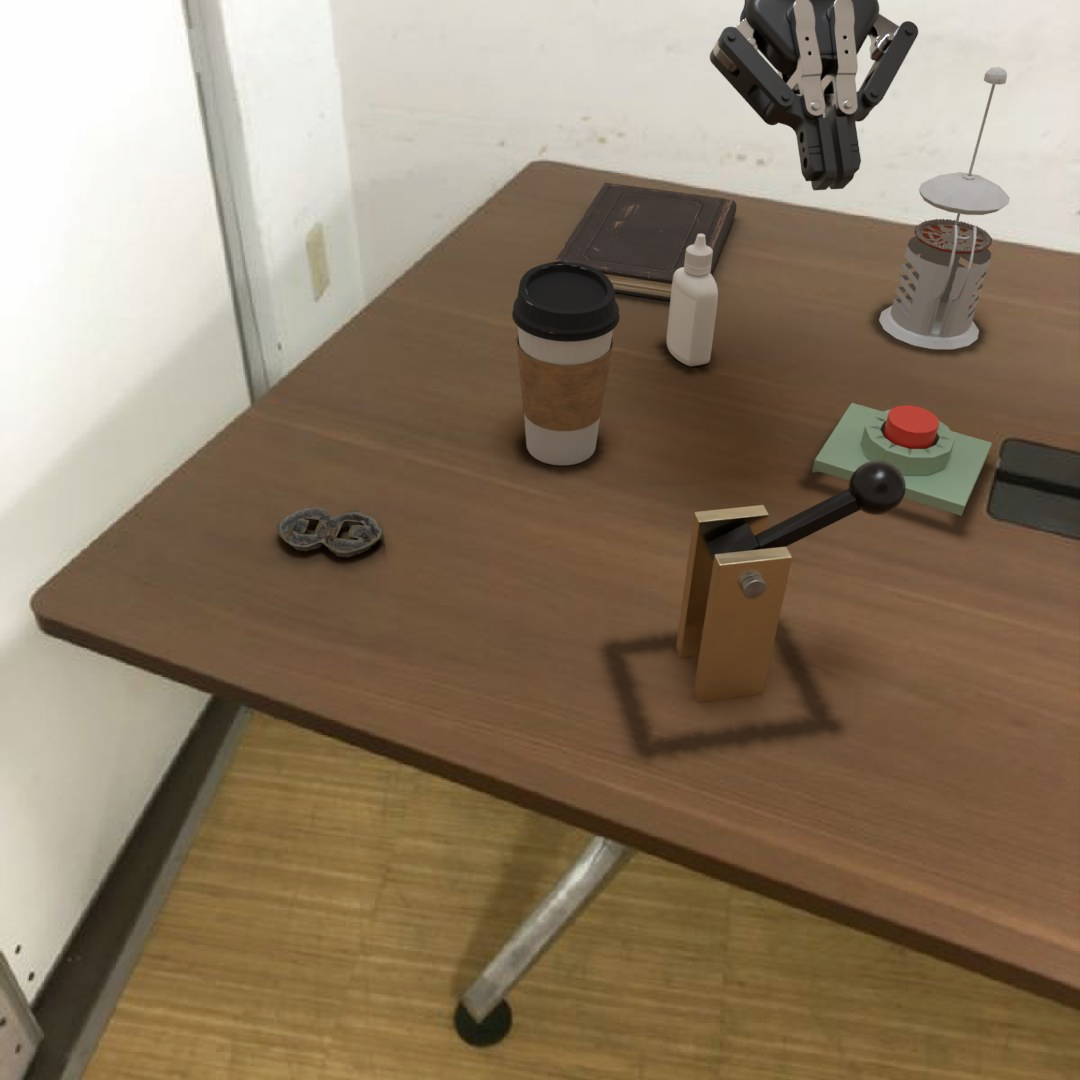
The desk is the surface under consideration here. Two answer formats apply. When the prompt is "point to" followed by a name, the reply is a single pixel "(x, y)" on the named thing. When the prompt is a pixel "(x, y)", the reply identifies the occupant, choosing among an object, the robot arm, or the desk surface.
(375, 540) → the corroded twin loop
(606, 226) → the hardcover book
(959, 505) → the control block
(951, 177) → the french press
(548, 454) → the coffee cup
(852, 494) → the black lever handle
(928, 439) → the button
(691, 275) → the eye dropper bottle
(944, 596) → the desk surface
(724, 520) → the wooden lever mount
